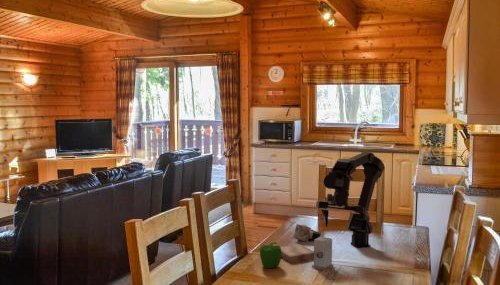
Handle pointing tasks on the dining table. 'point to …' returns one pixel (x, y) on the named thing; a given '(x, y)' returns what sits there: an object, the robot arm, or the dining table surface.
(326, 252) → the plate
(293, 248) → the stand
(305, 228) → the grey brown rock
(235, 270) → the dining table surface
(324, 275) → the dining table surface
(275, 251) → the bell pepper
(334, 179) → the robot arm
